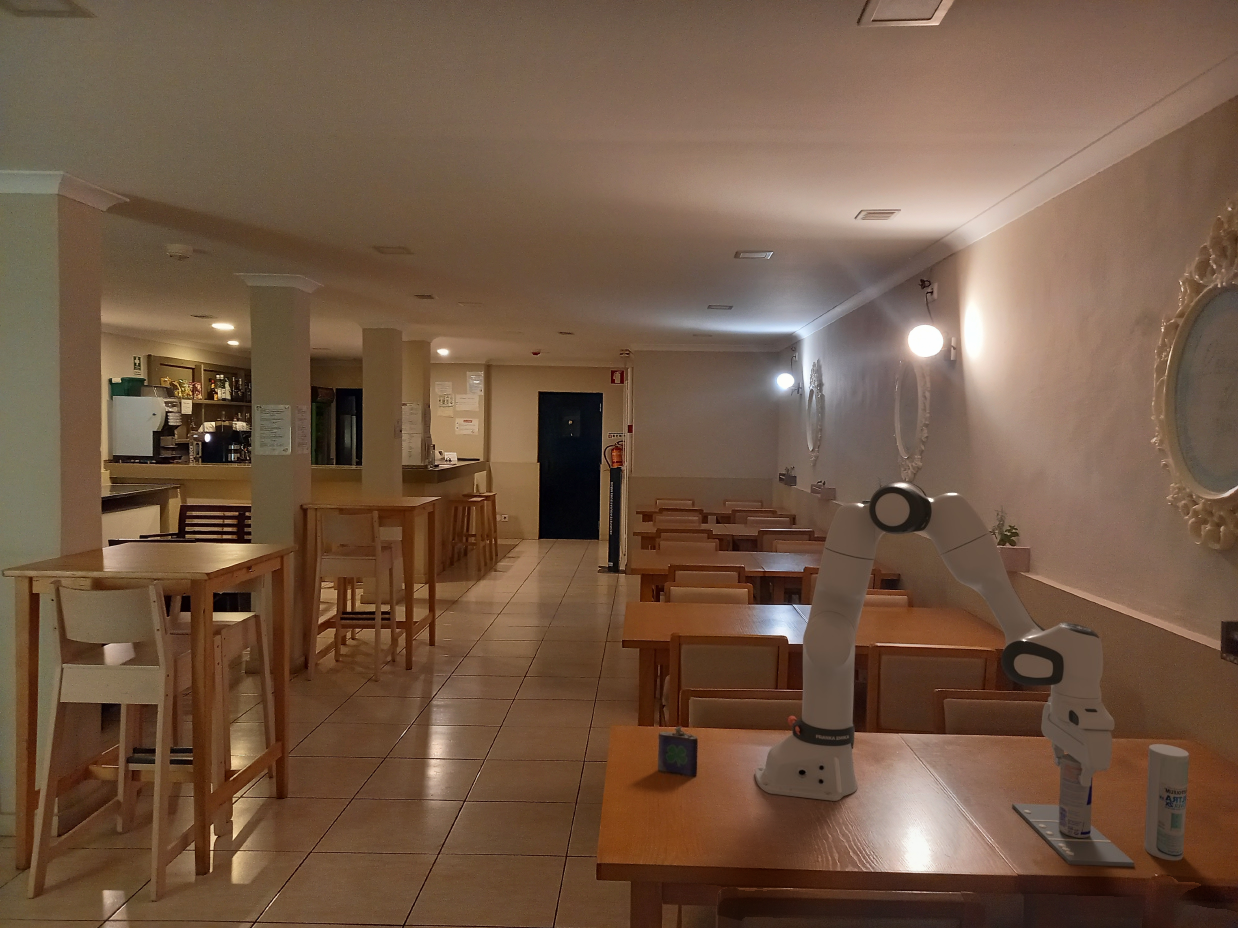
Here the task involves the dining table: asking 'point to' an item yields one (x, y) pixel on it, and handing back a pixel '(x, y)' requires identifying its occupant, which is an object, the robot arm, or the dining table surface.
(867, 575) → the robot arm
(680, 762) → the flask
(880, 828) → the dining table surface
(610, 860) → the dining table surface
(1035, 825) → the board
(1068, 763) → the beverage can
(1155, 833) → the spray can
